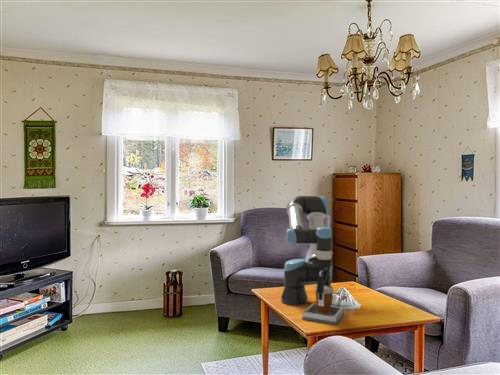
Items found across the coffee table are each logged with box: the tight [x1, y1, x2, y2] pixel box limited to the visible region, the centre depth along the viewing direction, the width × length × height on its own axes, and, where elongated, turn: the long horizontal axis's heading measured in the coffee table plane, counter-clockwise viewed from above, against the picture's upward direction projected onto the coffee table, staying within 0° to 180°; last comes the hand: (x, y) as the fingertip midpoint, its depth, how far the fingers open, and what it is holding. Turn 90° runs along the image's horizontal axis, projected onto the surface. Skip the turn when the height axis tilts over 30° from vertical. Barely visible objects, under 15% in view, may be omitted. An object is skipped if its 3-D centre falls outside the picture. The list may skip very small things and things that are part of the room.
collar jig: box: [301, 302, 345, 326], centre depth 202 cm, size 17×17×4 cm
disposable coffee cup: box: [314, 285, 334, 313], centre depth 202 cm, size 10×10×12 cm
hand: (323, 303), depth 202 cm, fingers closed on disposable coffee cup, 9 cm apart
